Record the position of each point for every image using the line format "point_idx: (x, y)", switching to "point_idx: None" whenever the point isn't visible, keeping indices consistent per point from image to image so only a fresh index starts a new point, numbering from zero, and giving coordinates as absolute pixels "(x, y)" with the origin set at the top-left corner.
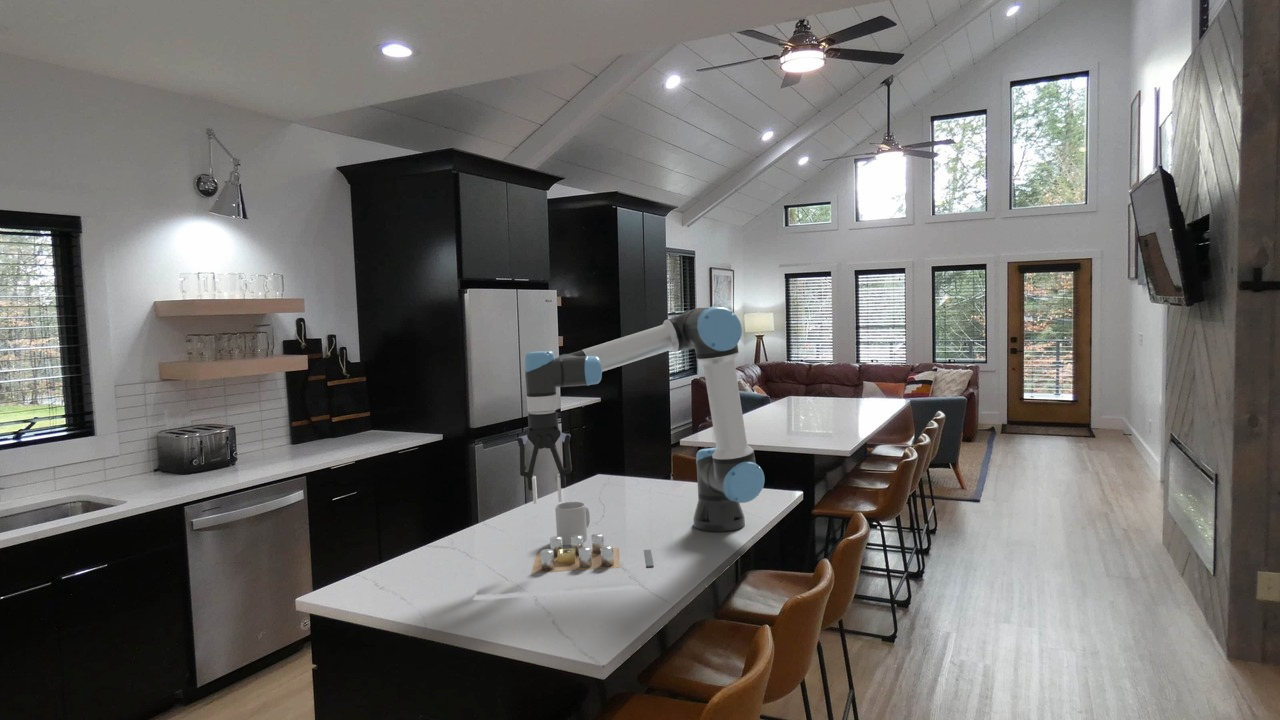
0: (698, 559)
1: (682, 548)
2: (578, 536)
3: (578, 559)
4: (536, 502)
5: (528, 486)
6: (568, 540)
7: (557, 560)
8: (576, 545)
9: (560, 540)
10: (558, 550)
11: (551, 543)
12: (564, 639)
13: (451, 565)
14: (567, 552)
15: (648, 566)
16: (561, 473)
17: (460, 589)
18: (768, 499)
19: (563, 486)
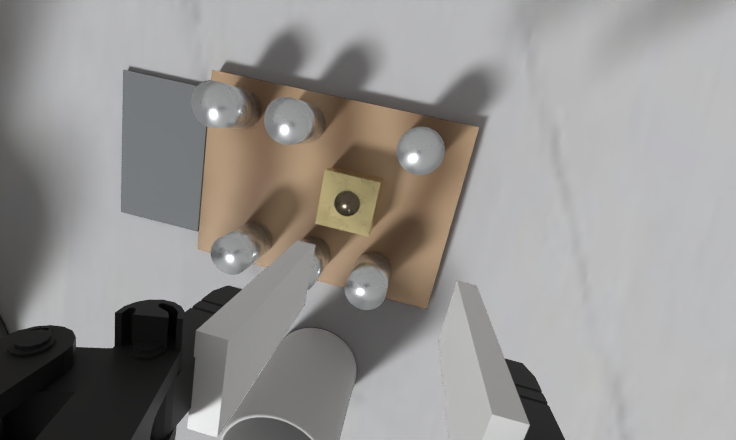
0: (12, 87)
1: (46, 195)
2: None
3: (319, 195)
4: (455, 288)
5: (537, 389)
6: (324, 344)
7: (380, 213)
8: None
9: (353, 272)
10: (370, 223)
11: (385, 276)
12: None
13: (694, 342)
14: (345, 190)
15: (138, 73)
16: (149, 348)
17: (726, 100)
18: None
19: (229, 294)
